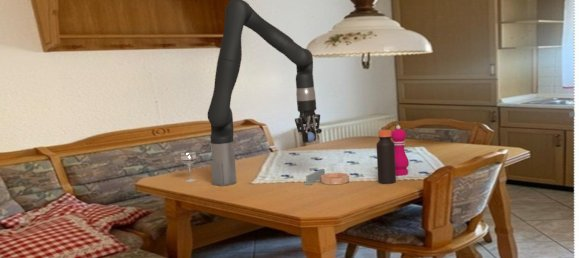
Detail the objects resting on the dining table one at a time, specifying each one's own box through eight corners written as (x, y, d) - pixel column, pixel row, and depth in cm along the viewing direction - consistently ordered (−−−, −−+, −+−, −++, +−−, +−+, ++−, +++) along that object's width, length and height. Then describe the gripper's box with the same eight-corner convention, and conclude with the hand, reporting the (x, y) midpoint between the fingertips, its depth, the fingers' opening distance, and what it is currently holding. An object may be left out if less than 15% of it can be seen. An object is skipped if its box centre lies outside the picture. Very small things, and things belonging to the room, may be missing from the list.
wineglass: (189, 178, 251) (187, 151, 249) (201, 179, 247) (199, 152, 246) (179, 181, 245) (176, 154, 244) (191, 182, 242) (188, 154, 240)
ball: (310, 143, 226) (309, 132, 225) (302, 143, 229) (301, 132, 228) (317, 141, 229) (316, 131, 229) (308, 141, 232) (307, 130, 231)
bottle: (396, 180, 222) (394, 129, 219) (395, 184, 215) (392, 131, 213) (379, 180, 223) (376, 129, 221) (377, 184, 217) (374, 132, 215)
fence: (310, 184, 223) (310, 176, 223) (304, 184, 225) (303, 175, 224) (327, 177, 235) (326, 169, 234) (320, 177, 236) (320, 168, 236)
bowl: (337, 185, 218) (337, 179, 218) (315, 183, 225) (315, 177, 225) (354, 180, 226) (354, 174, 226) (332, 177, 234) (331, 171, 233)
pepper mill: (396, 171, 237) (394, 124, 235) (412, 172, 233) (410, 124, 230) (387, 175, 232) (385, 126, 229) (403, 176, 227) (401, 126, 225)
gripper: (302, 100, 219) (305, 144, 221) (324, 96, 230) (327, 138, 232) (287, 101, 224) (291, 144, 226) (309, 97, 235) (313, 138, 237)
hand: (309, 141), depth 229 cm, fingers closed on ball, 4 cm apart
